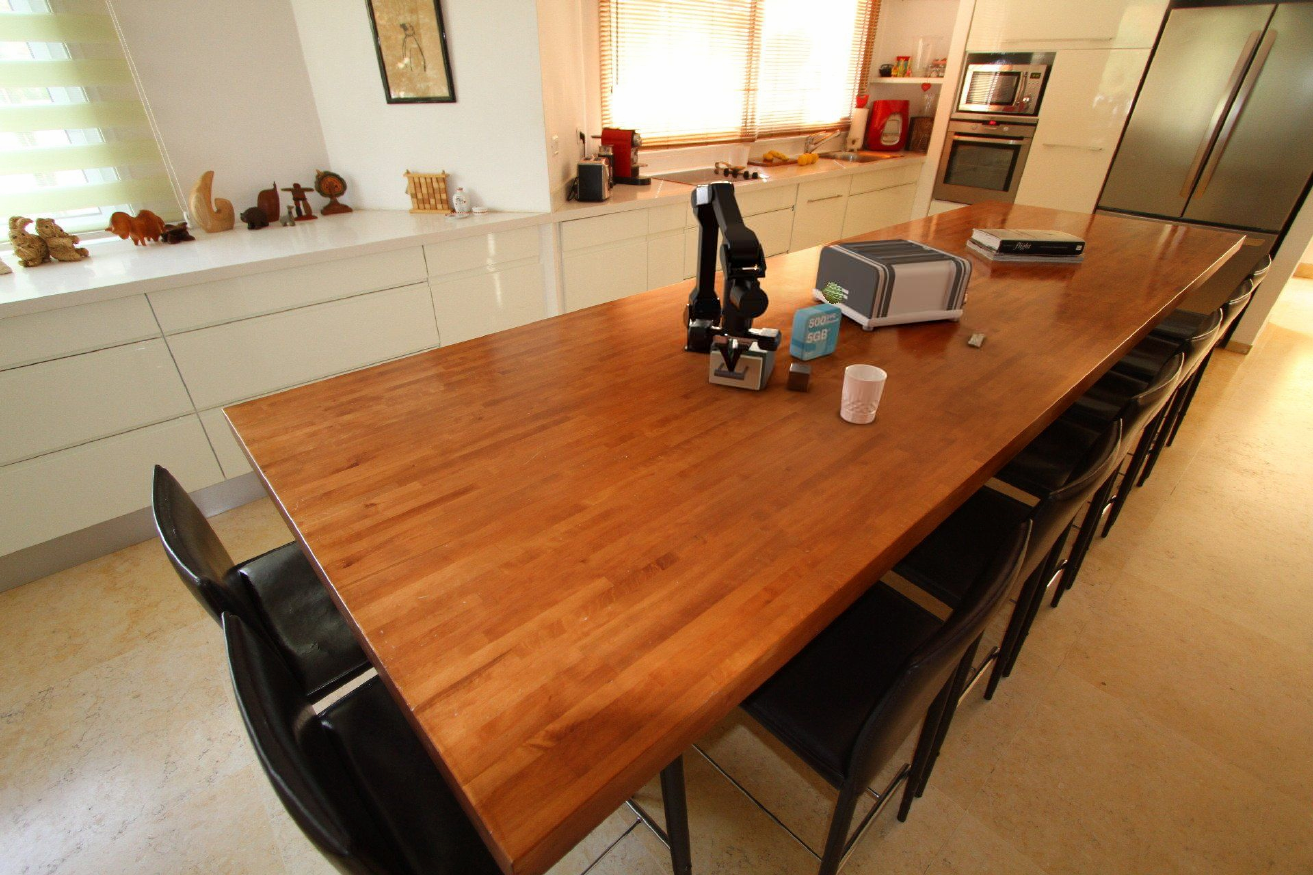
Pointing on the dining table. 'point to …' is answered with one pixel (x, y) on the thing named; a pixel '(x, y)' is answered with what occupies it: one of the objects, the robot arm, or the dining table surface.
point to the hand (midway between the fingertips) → (731, 372)
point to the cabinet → (754, 349)
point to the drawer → (736, 371)
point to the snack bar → (976, 339)
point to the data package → (815, 331)
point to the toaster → (894, 281)
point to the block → (799, 377)
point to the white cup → (861, 393)
